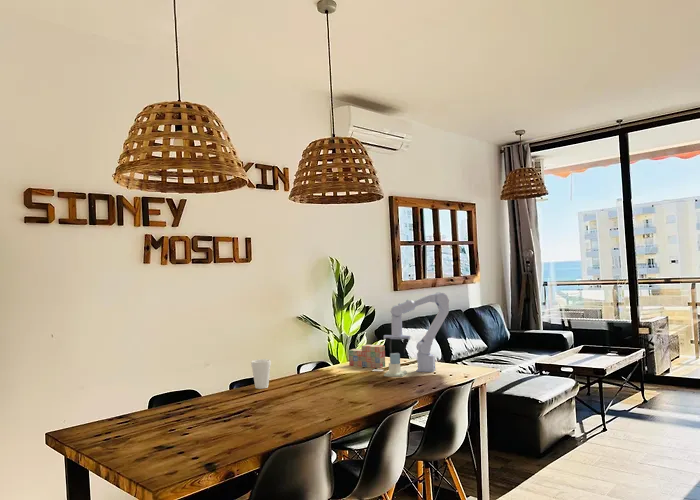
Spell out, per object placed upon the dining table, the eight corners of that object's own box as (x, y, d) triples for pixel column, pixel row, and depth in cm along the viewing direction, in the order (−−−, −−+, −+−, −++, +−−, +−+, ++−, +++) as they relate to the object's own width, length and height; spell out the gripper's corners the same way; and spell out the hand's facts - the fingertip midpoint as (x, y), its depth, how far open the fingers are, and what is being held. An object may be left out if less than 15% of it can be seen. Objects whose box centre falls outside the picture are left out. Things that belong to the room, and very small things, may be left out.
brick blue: (400, 363, 280) (399, 354, 280) (391, 364, 280) (391, 354, 280) (398, 362, 285) (398, 352, 285) (390, 362, 284) (389, 353, 284)
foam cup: (269, 384, 269) (269, 358, 269) (272, 388, 260) (272, 361, 260) (251, 386, 266) (250, 360, 266) (253, 390, 257) (252, 363, 257)
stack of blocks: (349, 365, 314) (348, 345, 315) (354, 364, 319) (353, 343, 320) (380, 368, 302) (379, 346, 303) (385, 366, 308) (384, 345, 308)
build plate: (406, 373, 285) (406, 370, 285) (402, 376, 275) (402, 374, 275) (388, 372, 288) (388, 369, 288) (383, 376, 279) (383, 373, 279)
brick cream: (393, 371, 285) (392, 362, 285) (400, 372, 283) (400, 362, 283) (389, 373, 281) (388, 363, 282) (396, 373, 279) (396, 364, 279)
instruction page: (384, 369, 296) (384, 369, 296) (382, 371, 292) (382, 370, 292) (373, 369, 298) (373, 369, 298) (371, 371, 294) (371, 370, 294)
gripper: (382, 327, 289) (382, 353, 288) (408, 328, 284) (408, 354, 284) (385, 326, 296) (385, 351, 295) (411, 327, 291) (411, 352, 290)
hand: (397, 352), depth 290 cm, fingers open, 7 cm apart
